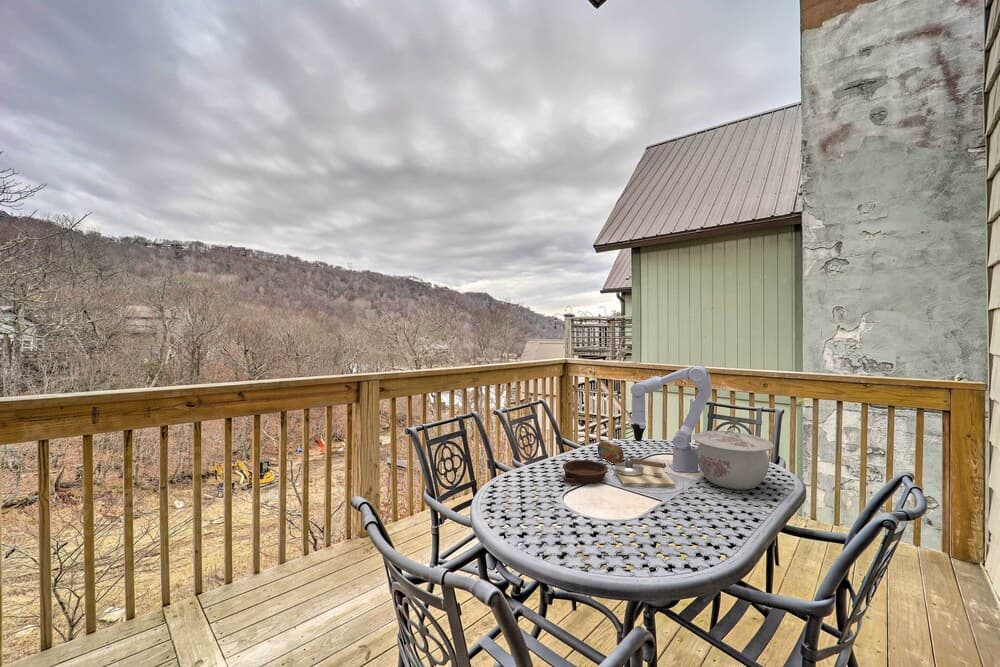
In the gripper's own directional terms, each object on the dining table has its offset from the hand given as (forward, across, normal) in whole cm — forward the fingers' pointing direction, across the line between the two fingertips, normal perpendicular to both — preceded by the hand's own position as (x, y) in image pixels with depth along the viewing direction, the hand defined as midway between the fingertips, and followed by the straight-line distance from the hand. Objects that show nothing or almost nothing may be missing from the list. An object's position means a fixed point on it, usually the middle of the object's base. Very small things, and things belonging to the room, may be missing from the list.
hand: (638, 440), depth 190 cm
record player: (+9, +19, -4) cm, 22 cm away
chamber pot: (+10, +23, +29) cm, 38 cm away
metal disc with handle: (+8, +19, -4) cm, 21 cm away
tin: (+10, 0, -12) cm, 15 cm away
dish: (+10, +21, -26) cm, 35 cm away
